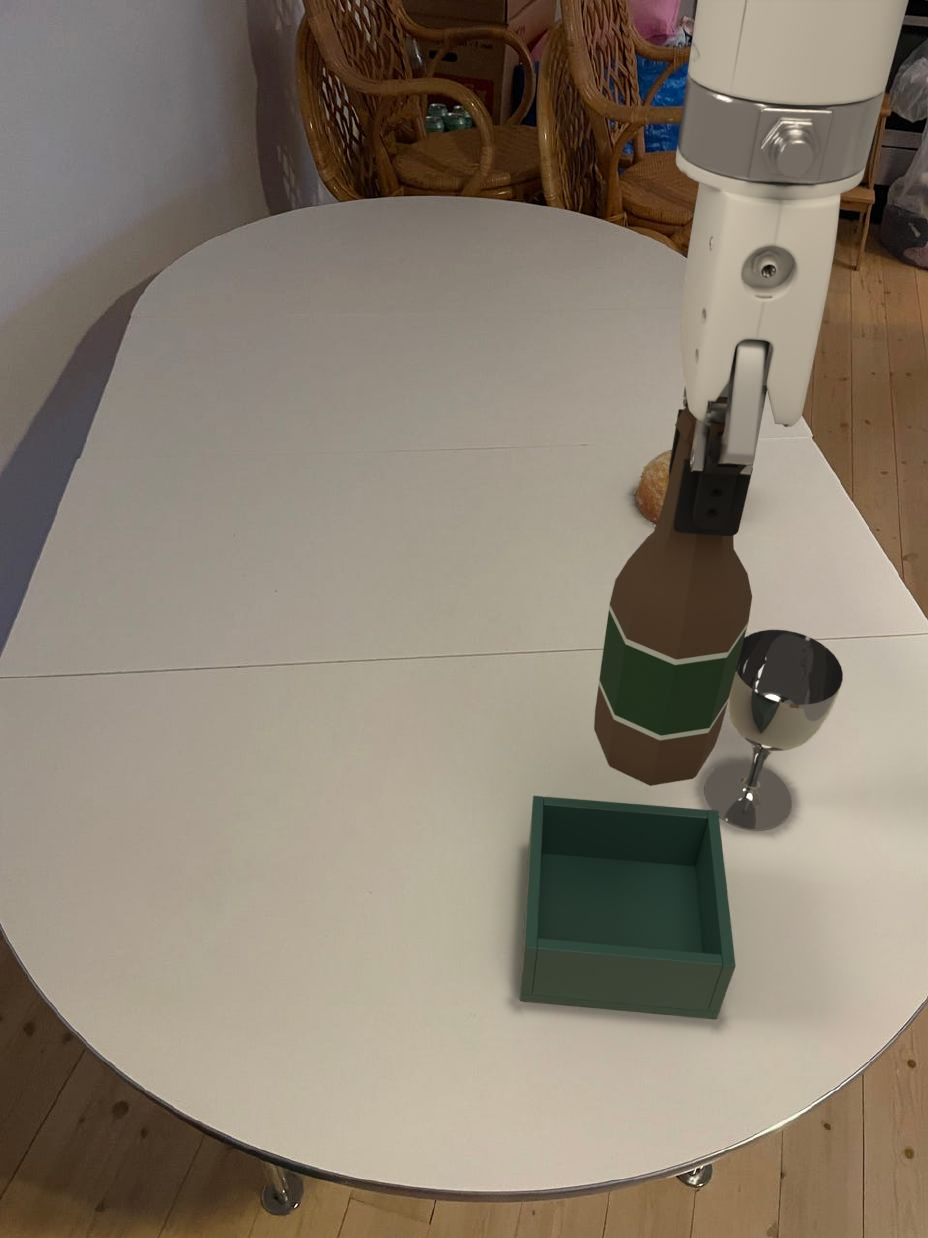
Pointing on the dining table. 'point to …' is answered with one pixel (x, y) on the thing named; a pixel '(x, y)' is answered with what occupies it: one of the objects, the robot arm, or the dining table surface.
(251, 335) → the dining table surface
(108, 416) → the dining table surface
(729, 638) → the beer bottle
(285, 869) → the dining table surface
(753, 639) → the wine glass
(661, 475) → the bread roll
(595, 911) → the tub
